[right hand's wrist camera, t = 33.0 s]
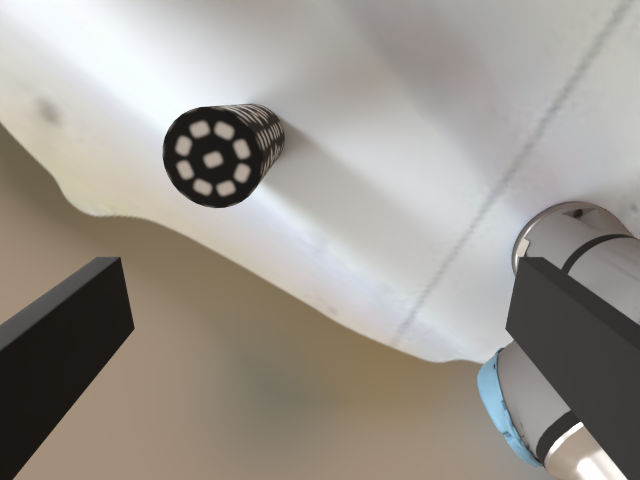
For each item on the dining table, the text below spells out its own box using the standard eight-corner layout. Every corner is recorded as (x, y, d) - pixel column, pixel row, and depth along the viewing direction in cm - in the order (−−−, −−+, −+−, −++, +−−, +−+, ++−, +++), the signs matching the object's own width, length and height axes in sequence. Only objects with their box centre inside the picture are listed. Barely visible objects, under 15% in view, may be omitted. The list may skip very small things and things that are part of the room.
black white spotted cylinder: (270, 94, 48) (239, 91, 30) (293, 156, 51) (278, 189, 32) (211, 116, 49) (144, 127, 31) (236, 176, 52) (190, 220, 33)
